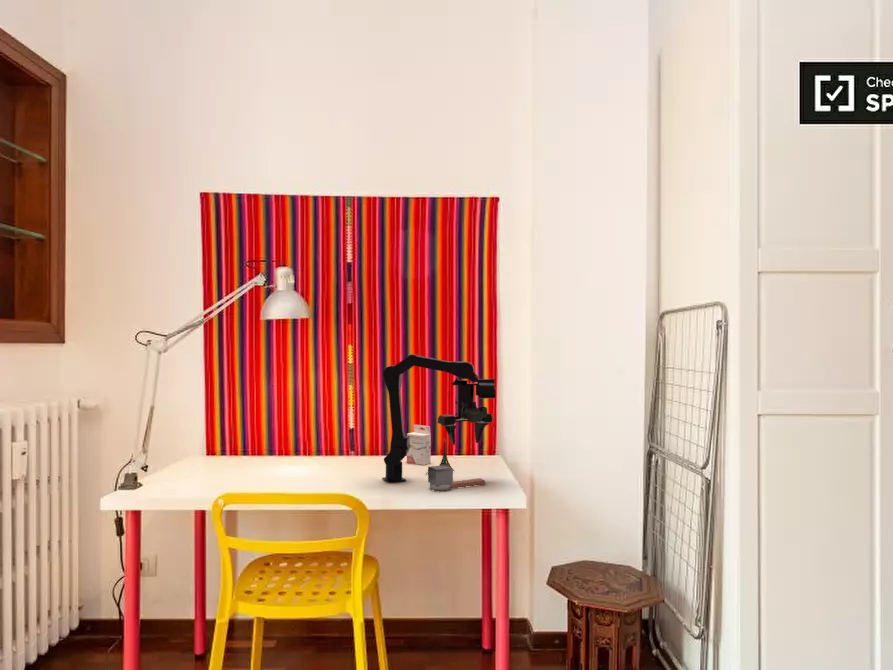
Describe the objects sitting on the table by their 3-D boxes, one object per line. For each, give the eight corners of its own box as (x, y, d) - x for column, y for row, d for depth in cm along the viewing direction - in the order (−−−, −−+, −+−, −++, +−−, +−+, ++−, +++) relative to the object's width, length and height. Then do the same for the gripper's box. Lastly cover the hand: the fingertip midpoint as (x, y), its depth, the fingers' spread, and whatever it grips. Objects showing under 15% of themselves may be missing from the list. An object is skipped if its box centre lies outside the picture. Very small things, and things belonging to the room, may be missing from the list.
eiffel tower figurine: (463, 469, 238) (463, 434, 238) (467, 475, 228) (467, 438, 228) (423, 470, 236) (423, 434, 236) (426, 476, 226) (426, 439, 226)
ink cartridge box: (406, 463, 246) (406, 425, 247) (413, 461, 251) (413, 424, 251) (424, 465, 242) (424, 427, 242) (431, 463, 246) (431, 425, 246)
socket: (428, 481, 206) (428, 466, 206) (444, 480, 209) (444, 465, 209) (436, 485, 201) (436, 470, 201) (452, 483, 204) (452, 468, 204)
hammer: (435, 492, 200) (435, 476, 200) (426, 487, 206) (426, 472, 206) (488, 486, 209) (488, 471, 209) (477, 481, 215) (477, 467, 215)
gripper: (452, 401, 203) (452, 449, 203) (501, 399, 212) (501, 445, 212) (437, 398, 213) (437, 444, 213) (484, 396, 222) (484, 440, 222)
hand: (465, 443), depth 215 cm, fingers open, 9 cm apart
